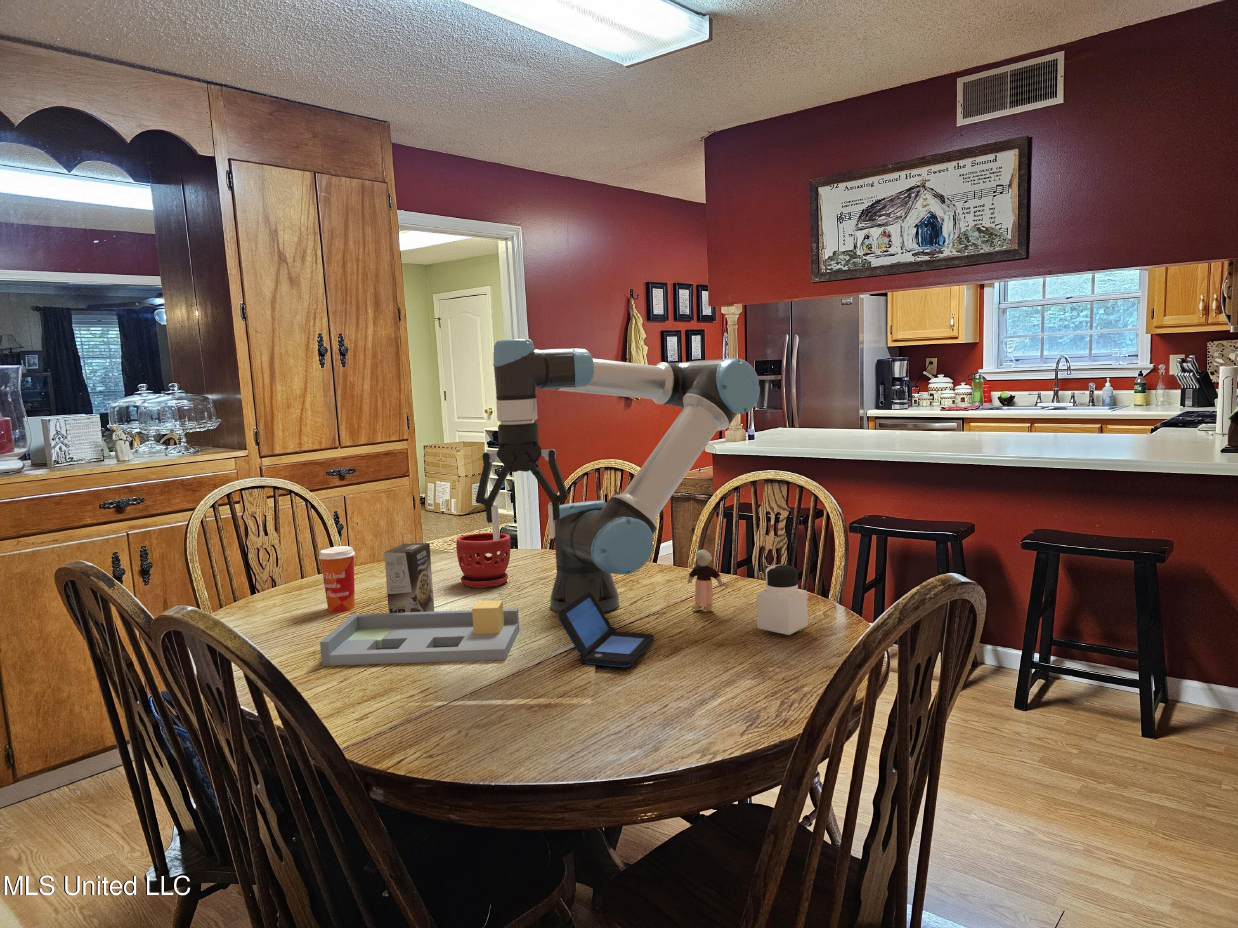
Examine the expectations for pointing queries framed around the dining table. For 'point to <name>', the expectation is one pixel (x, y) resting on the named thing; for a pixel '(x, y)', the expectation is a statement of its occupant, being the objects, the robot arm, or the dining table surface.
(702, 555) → the grandmother figurine
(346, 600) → the paper cup
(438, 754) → the dining table surface
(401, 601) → the coffee box
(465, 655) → the trap deck
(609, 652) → the handheld game console
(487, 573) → the plant pot
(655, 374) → the robot arm
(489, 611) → the block
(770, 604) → the medicine bottle
